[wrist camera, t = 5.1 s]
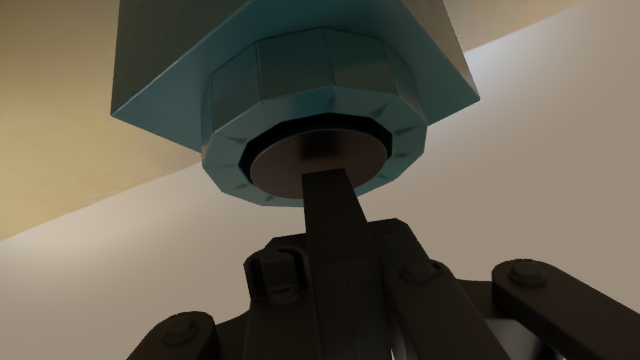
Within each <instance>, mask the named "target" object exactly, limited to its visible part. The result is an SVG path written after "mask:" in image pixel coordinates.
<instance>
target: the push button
mask: <svg viewBox="0 0 640 360" xmlns="http://www.w3.org/2000/svg"><path fill="white" fill-rule="evenodd" d="M247 146H248V158H249V169H250V177H251V179H252V181H253V183H254V184H255V185H256V186H257V187H258V188H259V189H260V190H262V191H264V192H266V193H268V194H270V195H273V196H277V197H281V198H288V199H303V190H302V178H301V174H305V173H311V172H318V171H325V170H332V169H338V168H345V171H346V173H347V175H348V178H349V180H350V182H351V185H352V187H353V189H355V188H357V187H359V186H361V185H363V184H365V183H366V182H368V181H369V180H371V179H372V178H374V177H375V176H376V175H377V174H378V173H379V172H380V171H381V169H382V168H383V166H384V165H385V162H386V158H387V151H386V147H385V143H384V139H383V135H382V131H381V127H380V124H378V123H377V122H376V121H374V120H373V119H372V118H370V117H362V116H354V115H346V114H338V113H330V112H328V113H323V114H318V115H313V116H308V117H303V118H298V119H293V120H288V121H283V122H281V123H279V124H277V125H276V126H274V127H272V128H271V129H269V130H267V131H266V132H264V133H263V134H261V135H259V136H258V137H256V138H254V139H253V140H251V141H249V142H248V144H247Z"/></svg>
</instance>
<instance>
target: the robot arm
mask: <svg viewBox="0 0 640 360" xmlns="http://www.w3.org/2000/svg"><path fill="white" fill-rule="evenodd" d="M301 178H302V190H303V202H304V213H305V226H306V233H302V234H295V235H289V236H282V237H275V238H272V240H271V241H270V242H269V243H268V244H267V245H266V246H265V248H264V249H262V250H259V251H257V252H255V253H253V254H252V255H251V256H249V257H248V258H247V259H246V261H245V263H244V264H243V265H244V269H245V274H246V279H247V284H248V289H249V294H250V298H251V302H250V309H249V310H248V311H246V312H245V313H243V314H242V315H240V316H238V317H236V318H233V319H231V320H228V321H226V322H223V323H220V324H217V325H215V322H214V320H213V317H212V316H211V315H209V314H207V313H206V312H198V311H191V312H182V313H178V314H177V315H176V314H175V315H173V316H170V317H169V318H167V319H165V320H164V321H162V322H160V323H158V324H157V325H156V326H155V327H154V328H153V329H152V330H151V331H149V333H148V334H147V335H146V336H145V337H144V339H143V340H142V341H141V342H140V344H139V345H138V346H137V347H136V348H135V350H134V351H133V352H132V353H131V354H130V356H129V357H128V358H127V359H126V360H392V354H391V349H392V352H393V355H394V358H395V360H563V358H565V359H566V360H640V314H639V313H637V312H635V311H633V310H631V309H630V308H628V307H626V306H624V305H622V304H621V303H619V302H617V301H615V300H614V299H612V298H610V297H608V296H606V295H605V294H603V293H601V292H599V291H597V290H596V289H594V288H592V287H590V286H589V285H587V284H585V283H583V282H581V281H579V280H578V279H576V278H574V277H572V276H570V275H569V274H567V273H565V272H563V271H562V270H560V269H558V268H556V267H554V266H552V265H549V264H547V263H544V262H540V261H535V260H532V259H515V260H510V261H505V262H503V263H500V264H498V265H496V266H495V268H494V269H493V270H492V281H469V280H460V279H456V278H455V277H454V275H453V274H452V272H451V271H450V269H449V268H448V267H446V266H445V265H444V264H443V263H441V262H438V261H435V260H431V259H429V257H428V255H427V254H426V252H425V251H424V249H423V248H422V246H421V244H420V243H419V241H417V238H416V237H415V235H414V234H413V232H412V230H411V229H410V227H409V226H408V224H406V223H405V222H403V221H401V220H398V219H397V218H392V219H385V220H379V221H372V222H367V220H366V218H365V215H364V213H363V211H362V208H361V206H360V204H359V202H358V199H357V197H356V194H355V192H354V189H353V187H352V185H351V182H350V180H349V178H348V175H347V173H346V171H345V168H338V169H332V170H325V171H318V172H311V173H305V174H301Z"/></svg>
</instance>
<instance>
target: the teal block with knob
mask: <svg viewBox="0 0 640 360" xmlns="http://www.w3.org/2000/svg"><path fill="white" fill-rule="evenodd" d="M479 100H480V96H479V94H478V91H477V89H476V86H475V83H474V81H473V78H472V76H471V73H470V71H469V68H468V65H467V63H466V60H465V58H464V55H463V52H462V50H461V47H460V45H459V42H458V40H457V37H456V34H455V32H454V29H453V27H452V24H451V22H450V19H449V16H448V14H447V11H446V9H445V6H444V4H443V1H442V0H120V6H119V17H118V29H117V41H116V53H115V65H114V76H113V88H112V100H111V112H110V115H111V116H112V117H114V118H117V119H119V120H122V121H124V122H126V123H129V124H131V125H134V126H136V127H139V128H141V129H143V130H146V131H148V132H151V133H153V134H156V135H158V136H160V137H163V138H165V139H168V140H170V141H173V142H175V143H177V144H180V145H182V146H185V147H187V148H190V149H192V150H194V151H197V152H199V153H202V167H203V169H204V170H205V171H206V173H207V174H208V175H209V176H210V178H211V179H212V180H213V181H214V183H215V184H216V185H217V186H218V188H219V189H220V190H221V192H224V193H226V194H229V195H232V196H234V197H237V198H240V199H243V200H246V201H249V202H252V203H255V204H258V205H261V206H280V207H304V202H303V199H288V198H281V197H277V196H273V195H270V194H268V193H266V192H264V191H262V190H260V189H259V188H258V187H257V186H256V185H255V184H254V183H253V181H252V179H251V177H250V169H249V158H248V146H247V144H248V142H249V141H251V140H253V139H254V138H256V137H258V136H259V135H261V134H263V133H264V132H266V131H267V130H269V129H271V128H272V127H274V126H276V125H277V124H279V123H281V122H283V121H288V120H293V119H298V118H303V117H308V116H313V115H318V114H323V113H328V112H330V113H338V114H346V115H354V116H362V117H370V118H372V119H373V120H374V121H376V122H377V123H378V124H380V127H381V131H382V135H383V139H384V143H385V147H386V151H387V158H386V162H385V165H384V166H383V168H382V169H381V171H380V172H379V173H378V174H377V175H376V176H375V177H374V178H372V179H371V180H369V181H368V182H366V183H365V184H363V185H361V186H359V187H357V188H355V189H354V192H355V194H356V197H358V196H360V195H362V194H365V193H367V192H369V191H371V190H374V189H375V188H378V187H380V186H383V185H385V184H387V183H389V182H391V181H394V180H395V179H397V178H398V177H399V176H400V175H401V174H402V173H403V172H404V171H405V170H406V169H407V168H408V167H409V166H410V165H411V164H412V163H414V161H416V160H417V159H418V158H419V157H420V156H421V155H422V154H423V153H424V147H425V140H426V133H427V126H429V125H431V124H433V123H435V122H437V121H440V120H441V119H444V118H446V117H448V116H449V115H452V114H454V113H456V112H457V111H460V110H462V109H464V108H465V107H468V106H470V105H472V104H474V103H476V102H478V101H479Z"/></svg>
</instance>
